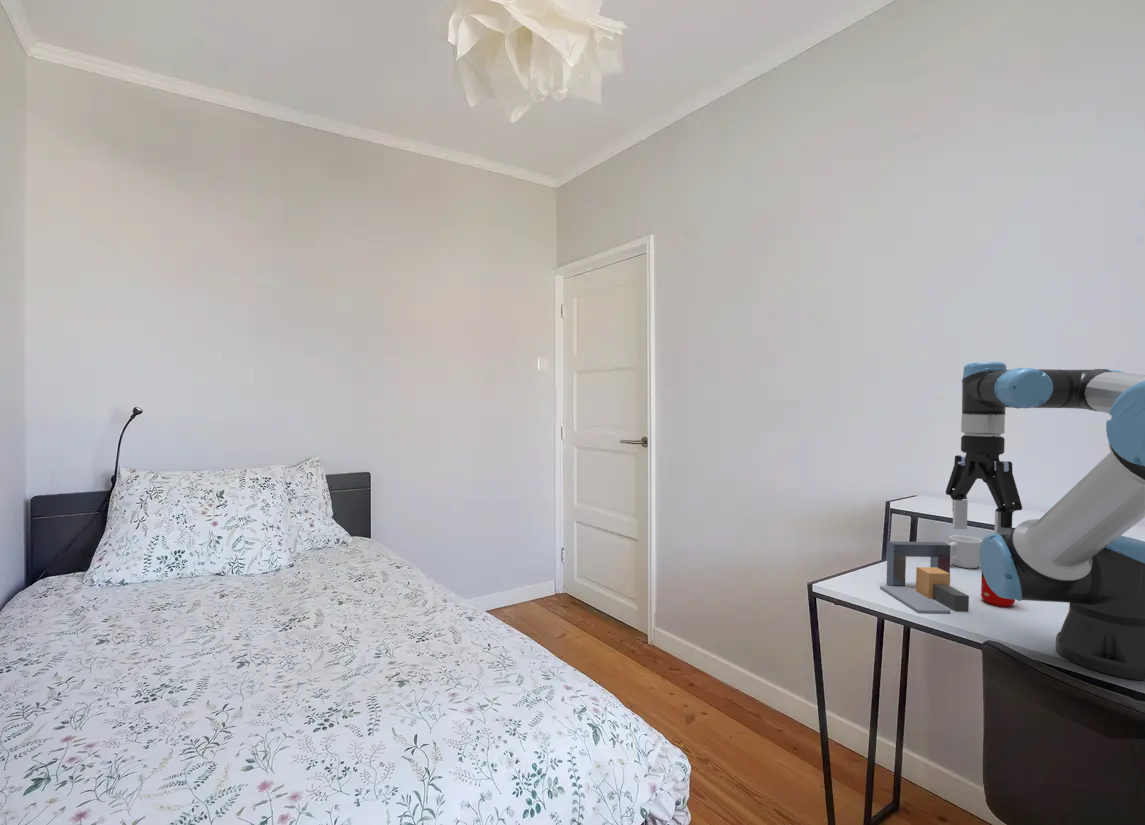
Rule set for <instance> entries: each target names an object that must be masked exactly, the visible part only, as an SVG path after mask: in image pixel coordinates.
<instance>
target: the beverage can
mask: <svg viewBox="0 0 1145 825" xmlns="http://www.w3.org/2000/svg"><path fill="white" fill-rule="evenodd" d="M980 586H981V587H980V588H981V589H980V597H981V599H982V600H984V601H985V603H987V604H989V605H992V606H997V607H1002V608H1003V607H1005V608H1007V607H1010V606H1012V605H1014V604H1015V602H1016V600H1014V599H1005V598H1002V597H999V596H998V595H996V594H995V593H994V592H993V591H992V590H991V589H990V587H989V586H988V584H987V582H986V580H985V578H984V575H983V572H982V571H981V582H980Z"/></svg>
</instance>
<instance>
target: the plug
mask: <svg viewBox="0 0 1145 825" xmlns="http://www.w3.org/2000/svg"><path fill="white" fill-rule="evenodd" d="M915 572H916V574H915V576H916V577H915V591H917V592H919V593H920V594H922V595H924V596H926V597H927V598H929V599H933V601H934V600H935V602H938V603H939V604H940V605H941V604H942V606H945V607H947V609H948V608H949V610H952V611H954V612H969V605H970V604H969V603H970V600H969V599H970V596H969V595H968V594H966V593H964V592H962V591H961V590H958V589H956V588H955V587H952V586H951V572H950V573H948V572H946V571H943V570H941V569H939V568H937V567H930V566H927V567H926V566H917V567H916V571H915Z"/></svg>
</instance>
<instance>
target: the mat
mask: <svg viewBox="0 0 1145 825" xmlns="http://www.w3.org/2000/svg"><path fill="white" fill-rule="evenodd" d="M879 589H881V590H882V591H884V592H885V593H886V594H888V595H889V596H890V597H892V598H895V599H896V600H897V601H899V602H901V603H902V604H904V605H905V606H906V607H908V608H910V609H911V608H912V609H911V610H913V611H914V612H916V613H918V614H949V615H950V614H951V609H948V608H946V606H945V607H944V605H941V604H940V603H939V602H938V603H937V601H934V599H933V600H932V598H927V597H926V596H924V595H922V594H920V593H919V592H917V591H916V589H913V588H912V587H910V586H906V585H905V586H889V585H881V586H879Z"/></svg>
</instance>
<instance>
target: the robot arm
mask: <svg viewBox="0 0 1145 825" xmlns="http://www.w3.org/2000/svg"><path fill="white" fill-rule="evenodd" d="M961 385H962V386H961V387H962V388H961V390H962V391H961V392H962V394H961V396H962V397H961V422H960V423H961V424H960V425H961V426H960V432H961V433H963V434H964V435H962V436H961V437H960V451H961V452H962V453H965V455H955V456H954V465H953V467H952V471H951V474H950V477H949V480H948V484H947V486H946V489H945V494H946V495H947V496H950V498H951V500H952V529H953V530H968V502H969V501H968V499H969V498H968V497H967V495H968V494H969V492H970V491H971V489H972V487H973V486H974V485H975V483H976V481H977V480H978V479H979V480H982V482H983V483H985V484H986V485H987V487H988V490H989V492H990V495H991V496H992V498H993V500H994V503H995V505H996V507H997V508H996V509H995V511H994V531H993V532H994V533H993V534H990V533H989V534H987V535H985V536H984V537H983V539H981V540H982V542H981V546H980V568H981V573H982V572H983V575H984V578H985V580H986V582H987V584H988V586H989V587H990V589H991V590H992V591H993V592H994V593H995V594H996V595H998V596H999V597H1002V598H1005V599H1014V600H1015V601H1018V602H1022V601H1027V602H1028V601H1031V602H1051V603H1069V606H1068V612H1067V614H1066V616H1065V619H1064V620H1063V623H1062V626H1061V629H1060V631H1059V632H1058V633H1057V634H1056V636H1055V650H1056V652H1057V653H1058V654H1059V655H1060V656H1062V657H1063V658H1065V659H1067V660H1069V661H1071V662H1073V663H1074V664H1077V665H1079V666H1083V667H1085V668H1088V669H1090V670H1094V671H1097V672H1100V673H1103V674H1106V675H1110V676H1115V677H1118V678H1124V679H1129V680H1136V681H1143V680H1145V541H1143V540H1140V539H1136V538H1133V537H1130V536H1125V535H1123V534H1125V533H1126V532H1128V531H1129V530H1130V529H1131V528H1133V527H1134V526H1136V525H1137V524H1138V523H1139V522H1141V521H1142V520H1144V519H1145V374H1137V373H1127V372H1126V373H1125V372H1123V371H1120V370H1116V369H1107V368H1095V369H1060V368H1059V369H1051V368H1050V369H1047V368H1045V369H1043V368H1041V369H1040V368H1039V369H1037V368H1031V367H1017V368H1013V369H1007V365H1006V363H1004V362H1002V361H981V362H979V361H978V362H970V363H966V365H964V366H963V373H962V379H961ZM1006 408H1009V409H1011V408H1012V409H1033V408H1034V409H1081V410H1088V411H1094V412H1100V413H1106V414H1109V416H1111V418H1110V419H1109V420H1106V425H1105V427H1106V428H1105V431H1106V438H1107V440H1108V448H1109V451H1110V452H1109V453H1108V454H1107V455H1106V456H1104V457H1103V458H1102V460H1100V461H1099V462H1098V463H1097V464H1096V465H1095V466H1094V467H1093V468H1092V469H1091V470H1089V471H1088V472H1087V473H1086V474H1085V475H1084V477H1082V478H1081V479H1080V480H1079V481H1078V482H1077V483H1076V484H1075V485H1074V486H1073V487H1072V488H1071V489H1070V490H1069V491H1068V492H1067V493H1066V494H1065V495H1064V496H1062V497H1061V498H1060V499H1059V500H1058V501H1057V502H1056V503H1055V504H1053V506H1052V507H1051V508H1050V509H1048V511H1046V512H1045V513H1044V515H1043V516H1041V517H1040V518H1035V519H1028V520H1025V521H1023V522H1021V523H1019V524H1017V526H1016V527H1014V529H1013V530H1012V528H1013V514H1014V512H1016V511H1022V510H1023V505H1022V502H1021V499H1020V495H1019V490H1018V488H1017V484H1016V480H1015V477H1014V473H1013V463H1012V461H1005V460H1001V461H1000V455H1003V454H1004V453H1005V442H1006V441H1005V440H1006V438H1004V436H1001V435H1004V434H1005V427H1006V426H1005V423H1006V418H1005V417H1006Z"/></svg>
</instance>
